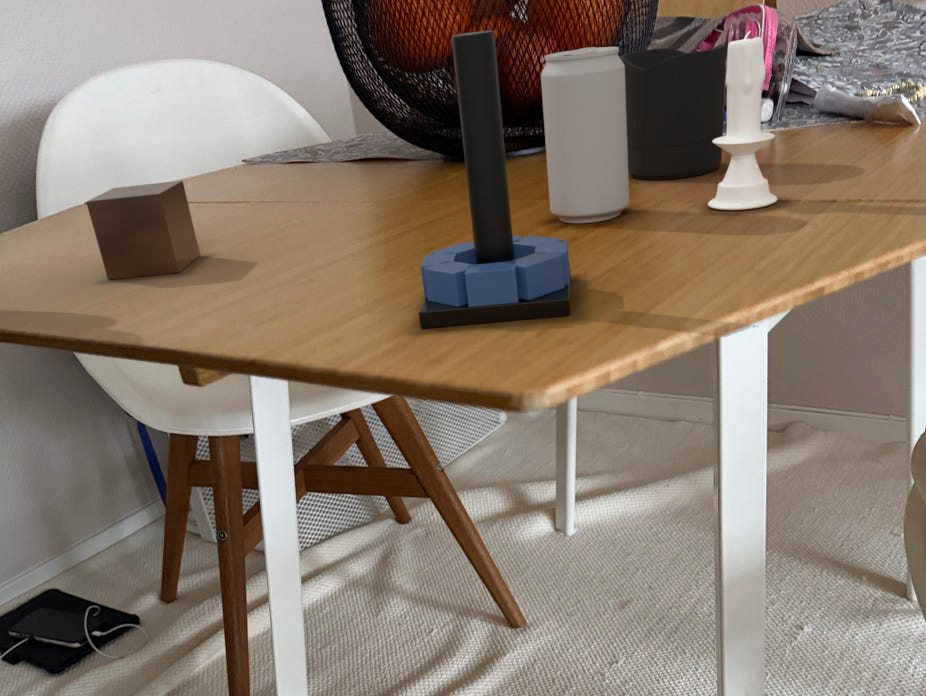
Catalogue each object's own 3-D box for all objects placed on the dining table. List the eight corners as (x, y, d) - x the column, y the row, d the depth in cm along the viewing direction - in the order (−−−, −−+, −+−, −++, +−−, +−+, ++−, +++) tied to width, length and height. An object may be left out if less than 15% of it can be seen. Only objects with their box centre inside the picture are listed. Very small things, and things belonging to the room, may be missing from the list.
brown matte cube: (107, 279, 88) (85, 201, 85) (133, 262, 93) (113, 187, 90) (178, 272, 88) (159, 193, 84) (200, 255, 93) (182, 180, 90)
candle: (781, 195, 87) (787, 24, 81) (771, 209, 83) (776, 30, 77) (715, 198, 89) (715, 31, 83) (701, 212, 85) (701, 38, 79)
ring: (418, 312, 65) (414, 278, 64) (435, 275, 73) (431, 244, 72) (569, 298, 64) (566, 263, 63) (569, 262, 72) (567, 230, 71)
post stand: (420, 328, 66) (382, 48, 58) (436, 290, 73) (404, 37, 66) (570, 315, 65) (551, 27, 57) (570, 277, 72) (554, 19, 65)
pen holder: (705, 158, 106) (705, 42, 101) (740, 171, 98) (742, 46, 93) (612, 171, 106) (607, 55, 100) (639, 185, 98) (635, 60, 92)
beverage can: (539, 226, 88) (526, 58, 81) (567, 208, 92) (557, 48, 86) (614, 224, 85) (607, 50, 79) (640, 206, 90) (635, 41, 83)
